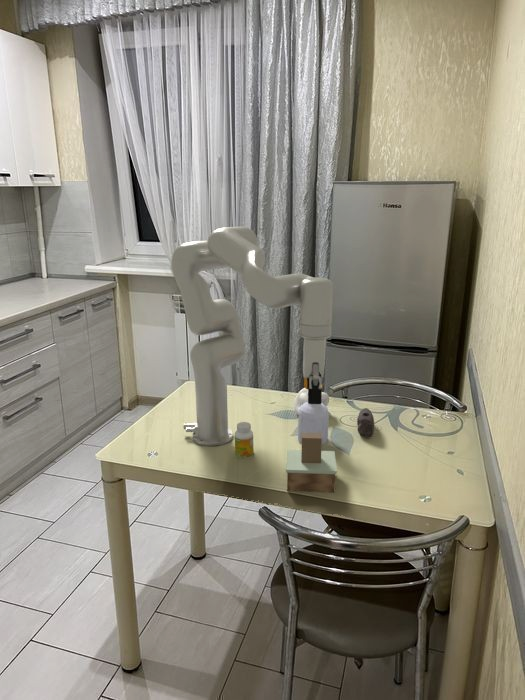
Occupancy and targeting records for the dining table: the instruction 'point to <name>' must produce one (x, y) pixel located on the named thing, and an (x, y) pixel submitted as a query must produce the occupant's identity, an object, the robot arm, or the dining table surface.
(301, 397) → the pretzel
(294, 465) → the lid
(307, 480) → the box
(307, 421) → the soap bottle
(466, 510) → the dining table surface
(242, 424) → the supplement bottle
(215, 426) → the robot arm
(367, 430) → the perforated stone tool
